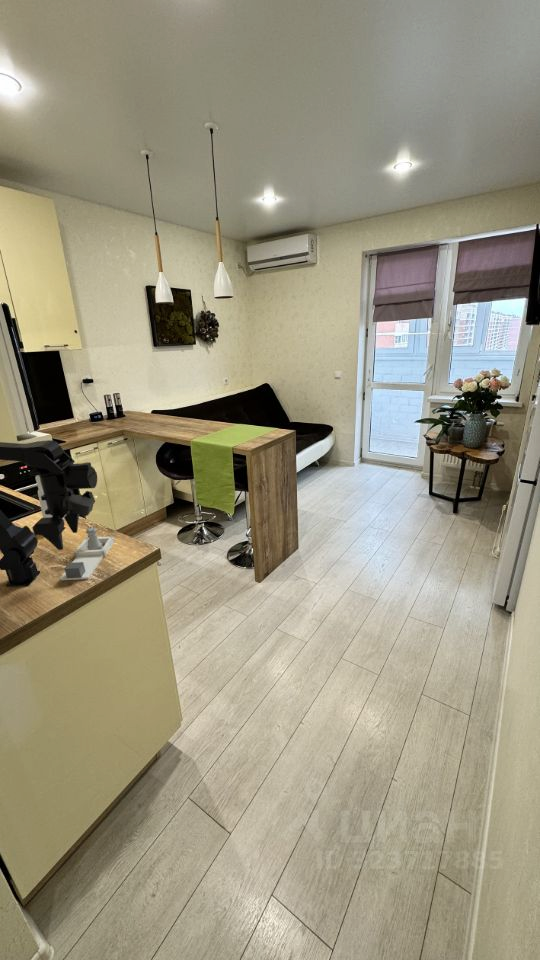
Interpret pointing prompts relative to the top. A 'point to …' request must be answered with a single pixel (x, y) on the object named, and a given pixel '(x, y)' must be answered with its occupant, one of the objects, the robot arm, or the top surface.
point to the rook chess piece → (93, 539)
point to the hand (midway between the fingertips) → (68, 540)
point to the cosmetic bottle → (42, 502)
